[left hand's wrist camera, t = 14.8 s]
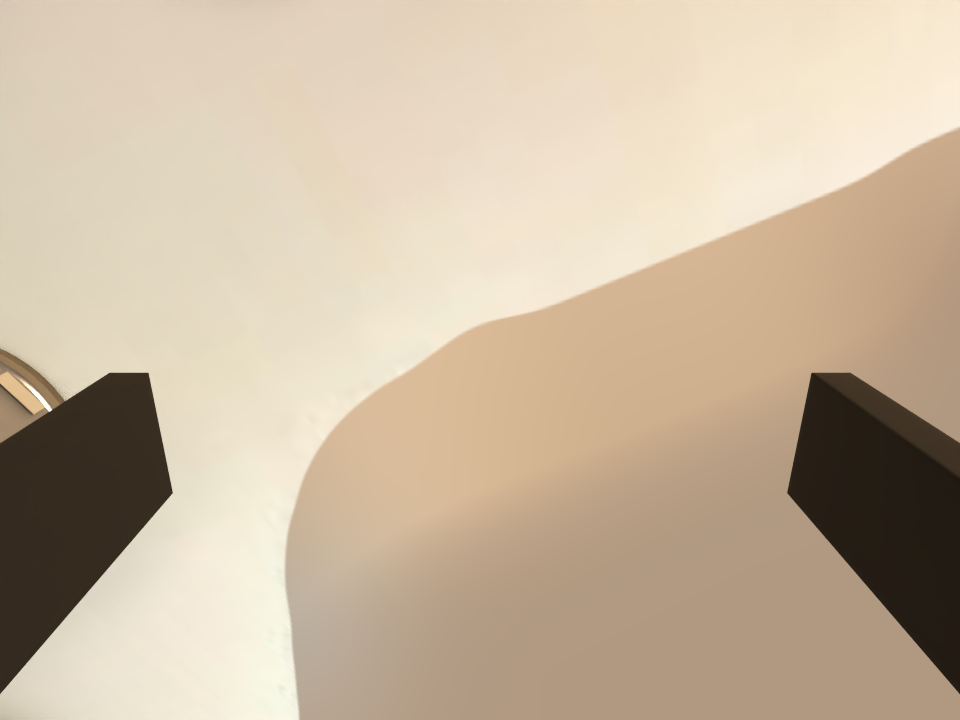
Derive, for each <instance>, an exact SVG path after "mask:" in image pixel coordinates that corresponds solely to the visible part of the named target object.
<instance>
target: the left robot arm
mask: <svg viewBox="0 0 960 720" xmlns="http://www.w3.org/2000/svg"><path fill="white" fill-rule="evenodd" d="M172 493H173V492H172V487H171V482H170V477H169V472H168V467H167V462H166V457H165V452H164V447H163V443H162V438H161V433H160V428H159V423H158V418H157V413H156V408H155V403H154V398H153V393H152V388H151V383H150V378H149V373H109V374H107V375H106V376H104V377H102V378H101V379H99V380H98V381H96V382H95V383H93V384H92V385H90V386H88V387H87V388H85V389H84V390H82V391H81V392H79V393H77V394H76V395H74V396H73V397H71V398H70V399H68V400H67V401H64V400H63V398H62V397H61V396H60V394H59V393H58V392H57V391H56V390H55V388H54V387H53V386H52V385H51V384H50V383H49V382H48V381H47V380H46V379H45V378H44V377H43V376H41V375H40V374H39V373H38V372H37V371H36V370H34V369H33V368H32V367H30V366H29V365H28V364H26V363H25V362H23V361H22V360H20V359H19V358H17V357H15V356H13V355H12V354H10V353H8V352H6V351H4V350H2V349H0V694H1V692H2V691H3V690H4V689H5V688H6V687H7V685H8V684H9V683H10V682H11V681H12V680H13V678H14V677H15V676H16V675H17V674H18V673H19V671H20V670H21V669H22V668H23V667H24V666H25V664H26V663H27V662H28V661H29V660H30V659H31V657H32V656H33V655H34V654H35V653H36V652H37V650H38V649H39V648H40V647H41V646H42V645H43V643H44V642H45V641H46V640H47V639H48V638H49V637H50V635H51V634H52V633H53V632H54V631H55V630H56V628H57V627H58V626H59V625H60V624H61V623H62V621H63V620H64V619H65V618H66V617H67V616H68V614H69V613H70V612H71V611H72V610H73V609H74V607H75V606H76V605H77V604H78V603H79V602H80V600H81V599H82V598H83V597H84V596H85V595H86V593H87V592H88V591H89V590H90V589H91V588H92V586H93V585H94V584H95V583H96V582H97V581H98V579H99V578H100V577H101V576H102V575H103V574H104V572H105V571H106V570H107V569H108V568H109V567H110V565H111V564H112V563H113V562H114V561H115V560H116V558H117V557H118V556H119V555H120V554H121V553H122V552H123V550H124V549H125V548H126V547H127V546H128V545H129V543H130V542H131V541H132V540H133V539H134V538H135V536H136V535H137V534H138V533H139V532H140V531H141V529H142V528H143V527H144V526H145V525H146V524H147V522H148V521H149V520H150V519H151V518H152V517H153V515H154V514H155V513H156V512H157V511H158V510H159V508H160V507H161V506H162V505H163V504H164V503H165V501H166V500H167V499H168V498H169V497H170V496H171V494H172ZM787 493H788V494H789V496H790V497H791V498H792V499H793V500H794V501H795V503H796V504H797V505H798V506H799V507H800V508H801V510H802V511H803V512H804V513H805V514H806V515H807V516H808V518H809V519H810V520H811V521H812V522H813V524H814V525H815V526H816V527H817V528H818V529H819V530H820V532H821V533H822V534H823V535H824V536H825V538H826V539H827V540H828V541H829V542H830V543H831V545H832V546H833V547H834V548H835V549H836V550H837V551H838V553H839V554H840V555H841V556H842V557H843V558H844V560H845V561H846V562H847V563H848V564H849V565H850V567H851V568H852V569H853V570H854V571H855V572H856V574H857V575H858V576H859V577H860V578H861V579H862V581H863V582H864V583H865V584H866V585H867V586H868V588H869V589H870V590H871V591H872V592H873V593H874V595H875V596H876V597H877V598H878V599H879V600H880V602H881V603H882V604H883V605H884V606H885V607H886V609H887V610H888V611H889V612H890V613H891V614H892V616H893V617H894V618H895V619H896V620H897V621H898V623H899V624H900V625H901V626H902V627H903V628H904V629H905V631H906V632H907V633H908V634H909V635H910V637H911V638H912V639H913V640H914V641H915V642H916V643H917V645H918V646H919V647H920V648H921V649H922V650H923V652H924V653H925V654H926V655H927V656H928V657H929V659H930V660H931V661H932V662H933V663H934V664H935V666H936V667H937V668H938V669H939V670H940V671H941V673H942V674H943V675H944V676H945V677H946V678H947V680H948V681H949V682H950V683H951V684H952V685H953V687H954V688H955V689H956V690H957V691H958V692H959V694H960V443H959V442H957V441H956V440H954V439H953V438H951V437H949V436H948V435H946V434H945V433H943V432H942V431H940V430H939V429H937V428H935V427H934V426H932V425H931V424H929V423H928V422H926V421H925V420H923V419H921V418H920V417H918V416H917V415H915V414H914V413H912V412H911V411H909V410H907V409H906V408H904V407H903V406H901V405H900V404H898V403H897V402H895V401H893V400H892V399H890V398H889V397H887V396H886V395H884V394H883V393H881V392H879V391H878V390H876V389H875V388H873V387H872V386H870V385H868V384H867V383H865V382H864V381H862V380H861V379H859V378H858V377H856V376H854V375H853V374H851V373H812V374H811V379H810V383H809V388H808V393H807V398H806V403H805V408H804V413H803V418H802V423H801V428H800V433H799V438H798V443H797V448H796V453H795V457H794V462H793V467H792V472H791V477H790V482H789V487H788V492H787Z"/></svg>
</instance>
